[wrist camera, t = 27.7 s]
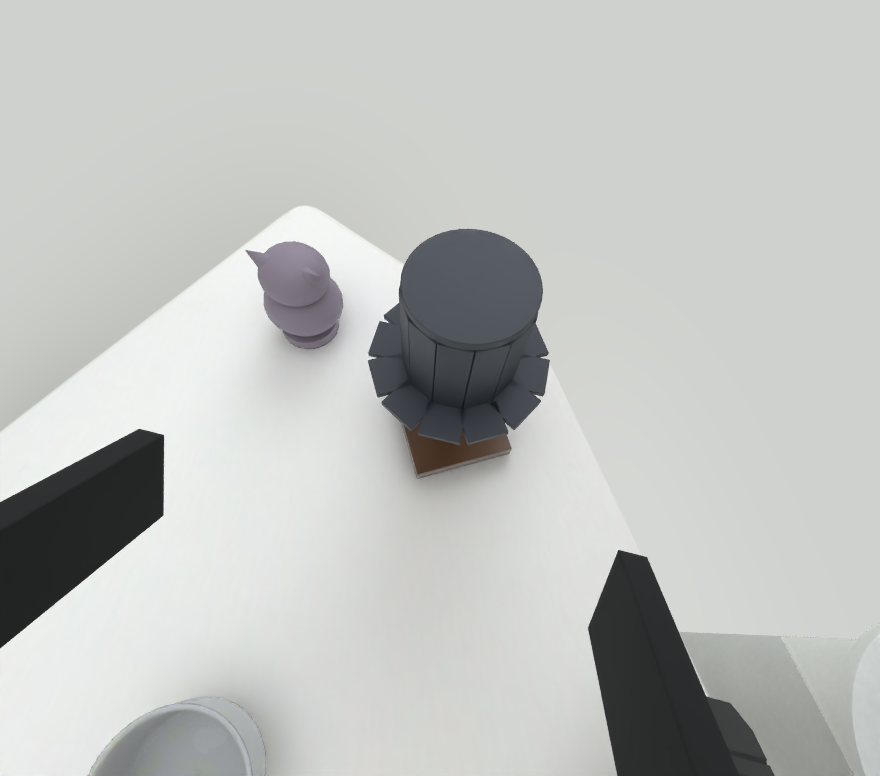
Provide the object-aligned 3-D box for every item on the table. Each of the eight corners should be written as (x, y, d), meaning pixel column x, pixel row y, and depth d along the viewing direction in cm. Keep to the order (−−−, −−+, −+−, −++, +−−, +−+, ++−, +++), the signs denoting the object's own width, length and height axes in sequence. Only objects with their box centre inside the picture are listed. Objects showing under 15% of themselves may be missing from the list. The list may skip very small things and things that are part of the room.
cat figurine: (359, 310, 57) (346, 238, 46) (330, 364, 54) (309, 299, 43) (295, 289, 58) (267, 213, 47) (262, 340, 55) (224, 271, 44)
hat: (574, 416, 37) (624, 352, 28) (395, 464, 35) (388, 412, 26) (510, 273, 43) (536, 183, 34) (353, 307, 41) (335, 220, 32)
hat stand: (509, 453, 50) (572, 337, 30) (417, 478, 48) (416, 375, 28) (479, 371, 54) (516, 220, 34) (393, 393, 53) (377, 247, 32)
